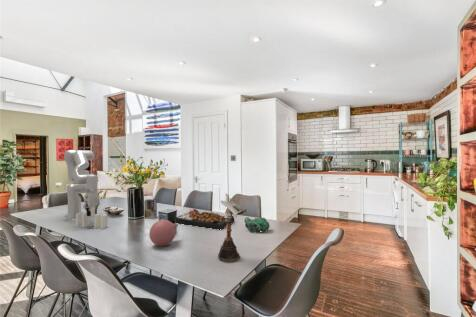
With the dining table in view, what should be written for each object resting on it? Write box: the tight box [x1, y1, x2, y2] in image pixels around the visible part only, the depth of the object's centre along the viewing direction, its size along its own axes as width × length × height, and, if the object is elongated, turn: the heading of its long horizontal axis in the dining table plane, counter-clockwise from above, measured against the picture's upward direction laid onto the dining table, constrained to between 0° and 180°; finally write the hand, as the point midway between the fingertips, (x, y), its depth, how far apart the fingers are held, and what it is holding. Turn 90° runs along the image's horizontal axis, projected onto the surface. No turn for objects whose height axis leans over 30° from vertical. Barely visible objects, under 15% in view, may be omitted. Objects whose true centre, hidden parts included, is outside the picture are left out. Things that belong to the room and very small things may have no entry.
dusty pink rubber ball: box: [148, 219, 179, 247], centre depth 148 cm, size 15×20×15 cm
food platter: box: [175, 206, 235, 231], centre depth 197 cm, size 45×25×10 cm, turn 65°
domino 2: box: [81, 212, 90, 229], centre depth 181 cm, size 2×5×10 cm, turn 168°
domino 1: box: [75, 211, 84, 228], centre depth 182 cm, size 2×5×10 cm, turn 168°
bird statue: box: [217, 193, 247, 263], centre depth 127 cm, size 17×13×35 cm
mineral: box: [244, 216, 270, 233], centre depth 175 cm, size 18×16×10 cm
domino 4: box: [93, 213, 102, 230], centre depth 179 cm, size 2×5×10 cm, turn 168°
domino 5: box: [100, 213, 109, 230], centre depth 178 cm, size 2×5×10 cm, turn 168°
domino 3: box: [88, 206, 96, 220], centre depth 180 cm, size 2×5×10 cm, turn 168°
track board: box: [78, 225, 106, 230], centre depth 180 cm, size 27×9×1 cm, turn 78°
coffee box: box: [143, 198, 158, 220], centre depth 211 cm, size 9×6×16 cm
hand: (91, 214), depth 180 cm, fingers closed on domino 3, 4 cm apart
